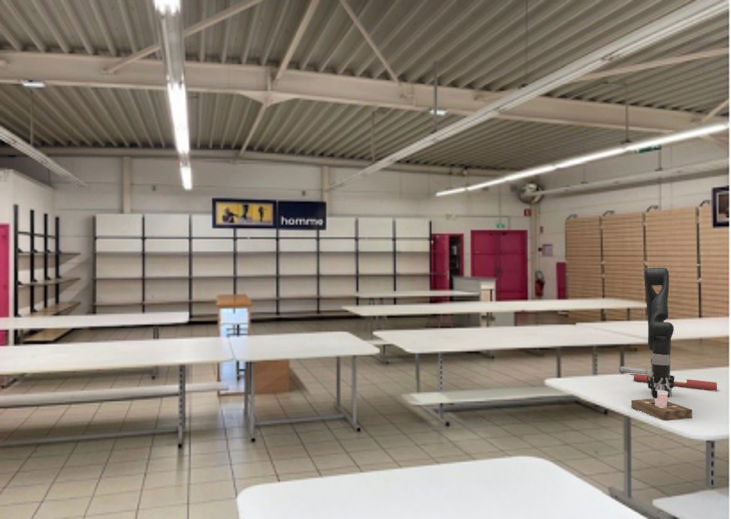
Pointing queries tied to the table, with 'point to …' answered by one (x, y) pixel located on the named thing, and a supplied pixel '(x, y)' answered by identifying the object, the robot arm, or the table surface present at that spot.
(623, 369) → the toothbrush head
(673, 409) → the socket board
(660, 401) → the beverage cup
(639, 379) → the reddish-brown long rod
